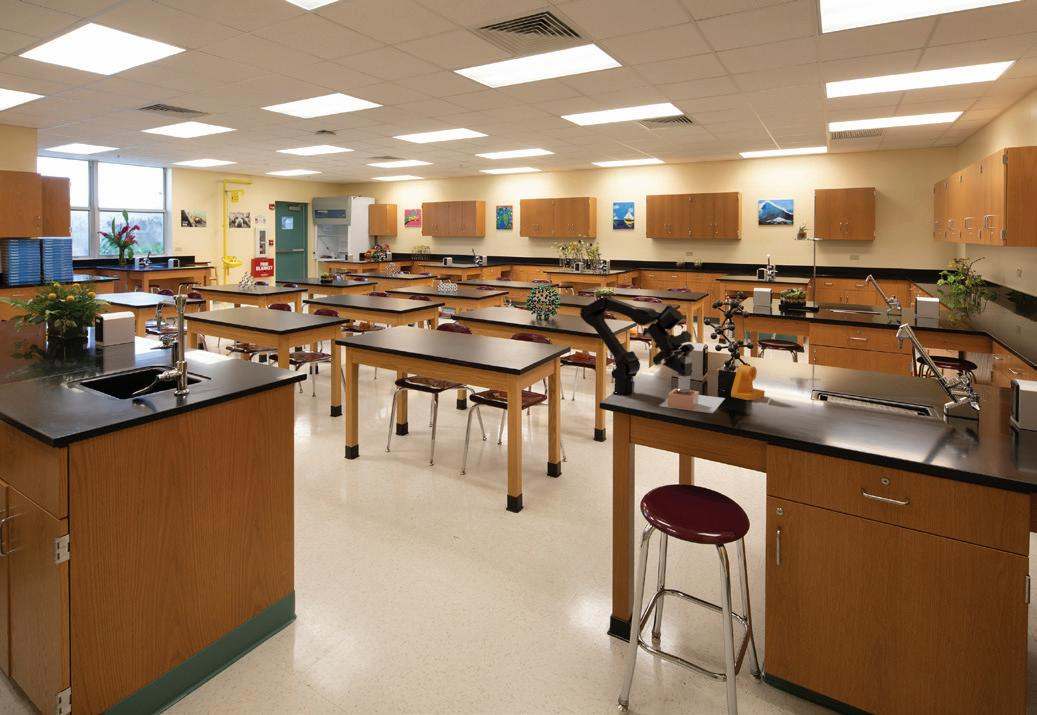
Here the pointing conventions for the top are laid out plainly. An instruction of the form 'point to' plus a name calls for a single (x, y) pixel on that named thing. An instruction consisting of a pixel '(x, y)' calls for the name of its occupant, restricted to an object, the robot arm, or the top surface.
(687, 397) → the holder
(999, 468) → the top surface
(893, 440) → the top surface
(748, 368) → the bracket
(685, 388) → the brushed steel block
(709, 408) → the bench mat
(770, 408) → the top surface
